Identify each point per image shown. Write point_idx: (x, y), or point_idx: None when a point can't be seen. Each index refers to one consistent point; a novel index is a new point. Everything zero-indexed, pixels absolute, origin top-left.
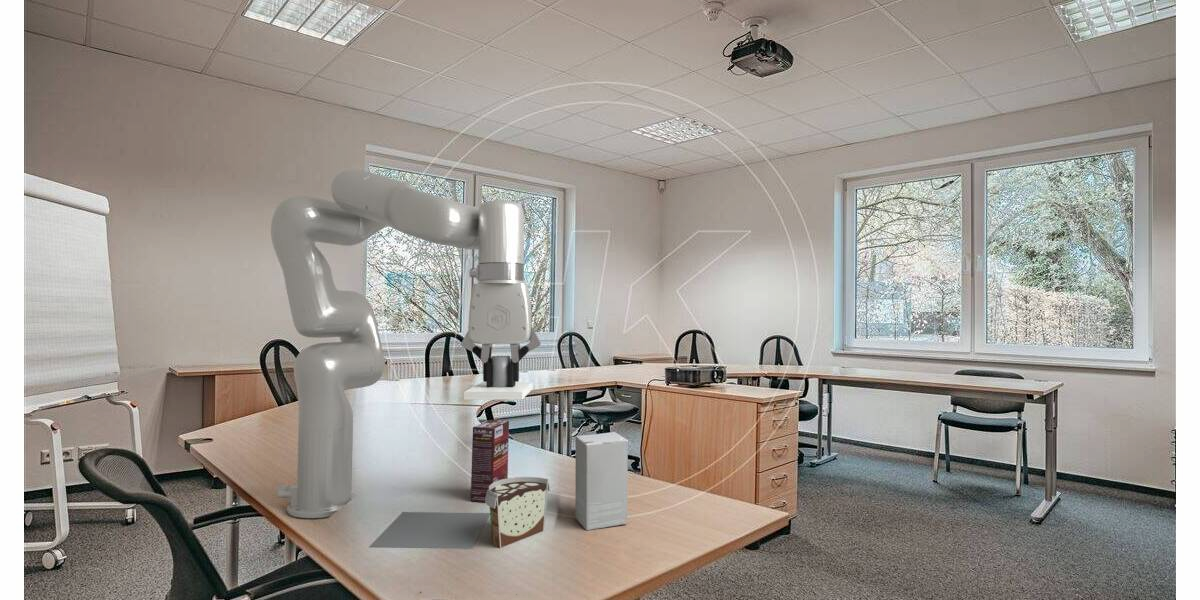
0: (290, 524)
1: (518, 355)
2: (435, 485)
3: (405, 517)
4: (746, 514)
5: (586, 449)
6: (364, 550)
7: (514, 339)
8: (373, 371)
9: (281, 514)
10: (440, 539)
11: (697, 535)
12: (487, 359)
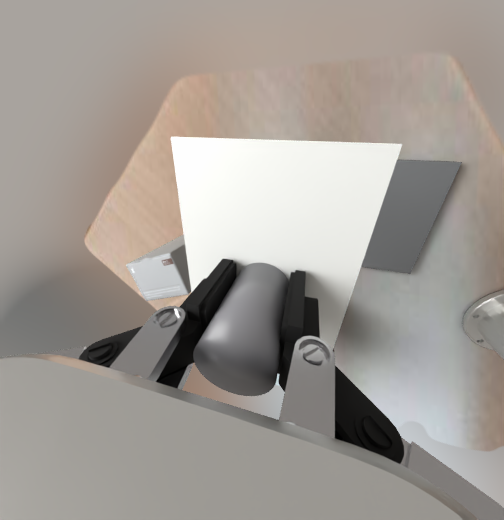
0: None
1: (143, 327)
2: (367, 355)
3: (407, 256)
4: (105, 247)
5: (173, 251)
6: (459, 183)
7: (44, 381)
8: None
9: None
10: None
11: (132, 207)
12: (297, 347)
